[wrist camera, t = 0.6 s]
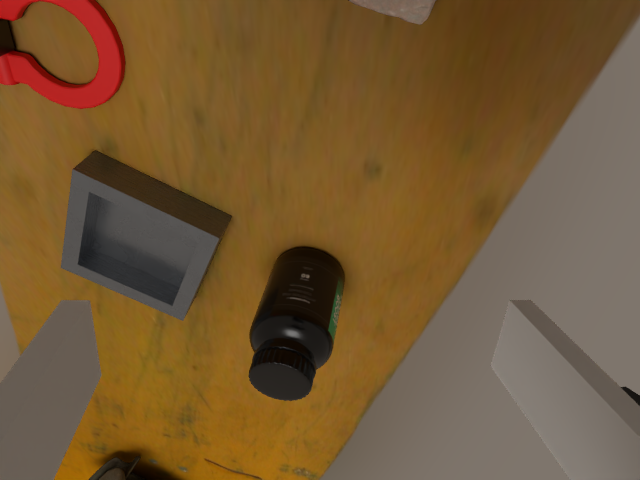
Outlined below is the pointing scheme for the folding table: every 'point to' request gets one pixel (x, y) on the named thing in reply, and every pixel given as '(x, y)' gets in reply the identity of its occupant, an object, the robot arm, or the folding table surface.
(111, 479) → the bench grinder
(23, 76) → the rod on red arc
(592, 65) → the folding table surface
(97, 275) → the keeper tray
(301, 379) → the supplement bottle
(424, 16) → the brick
